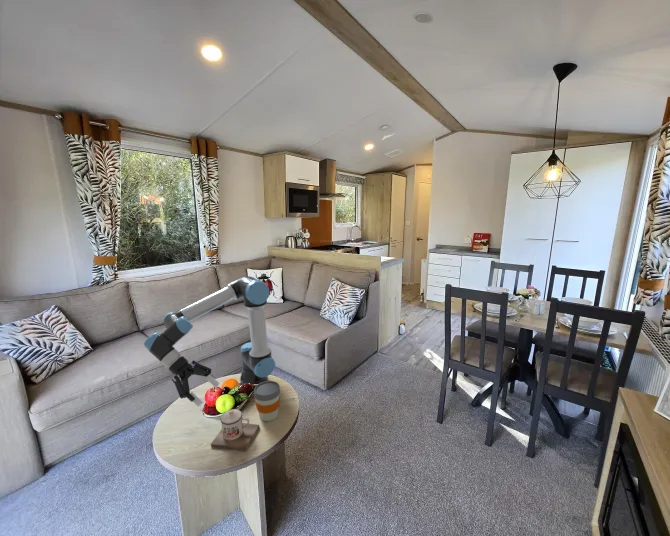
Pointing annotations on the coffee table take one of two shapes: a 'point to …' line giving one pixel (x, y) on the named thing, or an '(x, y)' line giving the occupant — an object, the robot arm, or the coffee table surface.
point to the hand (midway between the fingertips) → (209, 394)
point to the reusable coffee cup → (267, 399)
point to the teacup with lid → (232, 424)
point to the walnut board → (238, 443)
